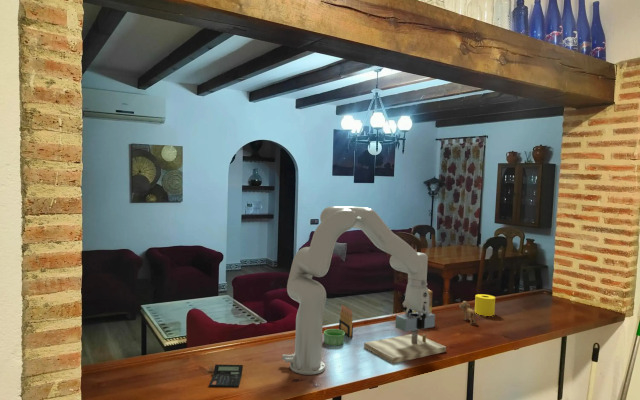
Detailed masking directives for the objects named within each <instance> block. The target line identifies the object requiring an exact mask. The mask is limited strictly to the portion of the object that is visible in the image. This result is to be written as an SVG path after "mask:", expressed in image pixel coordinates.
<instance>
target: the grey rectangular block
mask: <svg viewBox="0 0 640 400" xmlns="http://www.w3.org/2000/svg"><path fill="white" fill-rule="evenodd" d="M421 315H422V313H421ZM418 319H419V315H418V312H415V313H409V314H406V313H403V314H396V315H395V327H394V328H396V329H398V330H400V331H403V332H404V333H406V332H412V331H413V330H418V331H420V329H418ZM435 321H436V314H434V313H432V312H431V313H430V314H429V315H428V316H427V317H426V319H425V324H424V328H423V329H428V328H434V327H435V325H436V324H435ZM423 329H422V330H423Z"/></svg>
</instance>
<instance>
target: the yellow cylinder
mask: <svg viewBox="0 0 640 400" xmlns="http://www.w3.org/2000/svg"><path fill="white" fill-rule="evenodd" d="M474 298H475V299H474V311H475V313H477V314H479V315H478V316H480V315H484V316H483V317H486V316H492V315H494V316H495V312H496V311H495V307H496V296H494V295H491V294H483V293H482V294H481V293H480V294H479V293H478V294H475V297H474ZM477 314H476V315H477ZM492 317H493V316H492Z"/></svg>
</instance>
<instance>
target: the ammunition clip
mask: <svg viewBox="0 0 640 400" xmlns="http://www.w3.org/2000/svg"><path fill="white" fill-rule="evenodd" d="M339 317H340V318H339V320H338V329H339V330H342V331H344V332H345V335H344V336H345V337H348V338H349V337H350V338H353V336H354V335H353V333H354V326H353V312H352V309H350V308H349V307H347V306H345V305H344V304H341V308H340V316H339Z"/></svg>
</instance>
